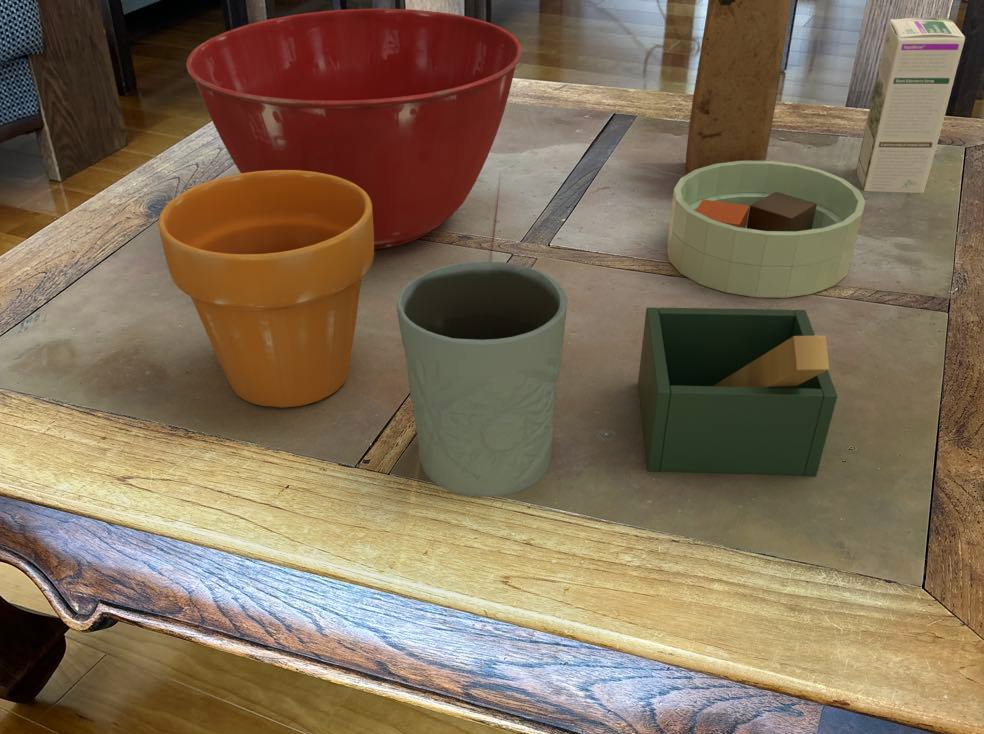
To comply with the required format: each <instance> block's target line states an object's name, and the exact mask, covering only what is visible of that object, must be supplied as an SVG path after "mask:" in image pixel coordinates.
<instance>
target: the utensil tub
mask: <svg viewBox="0 0 984 734" xmlns="http://www.w3.org/2000/svg"><path fill="white" fill-rule="evenodd" d="M643 325H644V326H643V334H642V335H643V336H642V343H641V353H640V360H639V361H640V364H639V370H638V379H637V387H638V388H637V389H638V395H639V396H638V397H639V406H640V415H641V424H642V434H643V435H642V436H643V443H644V444H643V445H644V451H645V452H644V453H645V463H646V471H647V472H648V473H674V474H675V473H676V474H677V473H678V474H710V475H711V474H712V475H744V476H779V477H808V478H809V477H812V478H815V477H817V475H818V471H819V467H820V463H821V460H822V456H823V452H824V448H825V444H826V440H827V437H828V433H829V430H830V426H831V422H832V418H833V414H834V411H835V406H836V403H837V400H838V394H837V391H836V388H835V386H834V383H833V379H832V377H831V375H830V372H829V370H827V371H825V372H823V373H821V374H819V375H817V376H815V377H813V378H811V379H809V380H807V381H805V382H803V383H801V384H800V385H798V386H796V387H794V388H760V387H716V386H714V385H716V384H717V383H719V382H721V381H722V380H724V379H725V378H727V377H729V376H730V375H732V374H734V373H735V372H737V371H738V370H740V369H742V368H743V367H745V366H746V365H748V364H750V363H751V362H753V361H754V360H756V359H758V358H759V357H761V356H763V355H764V354H766V353H767V352H769V351H771V350H772V349H774V348H775V347H777V346H779V345H780V344H782V343H784V342H785V341H787V340H788V339H790V338H792V337H793V336H816V334H815V332H814V328H813V327H812V324H811V321H810V318H809V316H808V313H807V310H806V309H777V308H776V309H773V308H771V309H769V308H715V307H714V308H713V307H712V308H707V307H646V309H645V318H644V324H643Z"/></svg>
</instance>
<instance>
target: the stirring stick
mask: <svg viewBox="0 0 984 734" xmlns="http://www.w3.org/2000/svg"><path fill="white" fill-rule="evenodd" d="M828 351H829V350H828V341H827V335H821V334H820V335H815V336H793V337H792V338H790V339H788V340H787V341H785V342H784V343H782V344H780V345H779V346H777V347H775V348H774V349H772V350H771V351H769V352H767V353H766V354H764V355H763V356H761V357H759V358H758V359H756V360H754V361H753V362H751V363H750V364H748V365H746V366H745V367H743V368H742V369H740V370H738V371H737V372H735V373H734V374H732V375H730V376H729V377H727V378H725V379H724V380H722V381H721V382H719V383H717V384H716V385H714V386H716V387H760V388H794V387H796V386H798V385H800V384H801V383H803V382H805V381H807V380H809V379H811V378H813V377H815V376H817V375H819V374H821V373H823V372H825V371H827V370H828V371H829V370H830V362H829V352H828Z"/></svg>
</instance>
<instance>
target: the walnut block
mask: <svg viewBox="0 0 984 734" xmlns="http://www.w3.org/2000/svg"><path fill="white" fill-rule="evenodd" d="M816 206H817V204H816V203H812V202H809V201H806V200H802V199H799V198H796V197H792V196H789V195H786V194H782V193H779V192H774V193H772V194H771V195H769V196H767V197H765V198H763V199H761V200H759V201H758V202H756V203H754V204H752V205H751V206H750V210H749V216H748V222H747V229H754V230H762V231H790V232H796V231H804V230H811V229H812V225H813V220H814V216H815V211H816Z"/></svg>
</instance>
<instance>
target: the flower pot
mask: <svg viewBox="0 0 984 734" xmlns="http://www.w3.org/2000/svg"><path fill="white" fill-rule="evenodd" d="M157 224H158V225H157V226H158V231H159V235H160V239H161V244H162V249H163V252H164V253H163V254H164V257H165V260H166V265H167V267H168V272H169V275H170V277H171V279H172V281H173V283H174V284H175V285H176V287H177V288H178V290H180V291H181V292H183V293H184V294H186V295H187V296H189V297H190V298H191V299H190V300H191V301H192V303H193V306H194V307H195V309H196V311H197V314H198V316H199V319H200V321H201V323H202V325H203V328H204V330H205V332H206V334H207V336H208V339H209V342H210V343H211V346H212V348H213V350H214V353H215V355H216V356H217V359H218V361H219V363H220V365H221V367H222V370H223V372H224V374H225V376H226V379H227V381H228V383H229V385H230V387H231V389H232V391H233V392H234V393H235V394H236V395H237V396H238V397H239V398H240V399H242V400H244V401H246V402H248V403H251V404H254V405H257V406H262V407H274V408H295V407H298V406H299V407H300V406H306V405H309V404H311V403H316V402H319V401H321V400H323V399H325V398H328V397H330V396H331V395H332V394H334V393H336V392H337V391H338V390H339V389H341V387H342V386H343V385H344V384H345V383H346V381H347V379H348V377H349V376H348V375H349V371H350V366H351V360H352V351H353V346H354V345H353V344H354V339H355V338H354V337H355V332H356V331H355V330H356V324H357V316H358V308H359V299H360V291H361V285H362V284H361V283H362V278H363V277H364V276H366V274H367V273H368V272H369V270H370V268H371V266H372V265H373V261H374V258H375V249H374V229H373V212H372V203H371V200H370V198H369V196H368V195H367V193H366V192H365V191H364V190H363V189H362V188H360V187H359V186H357V185H356V184H354V183H352V182H350V181H347V180H345V179H342V178H339V177H336V176H332V175H328V174H323V173H318V172H310V171H299V170H269V171H256V172H248V173H242V174H241V173H237V174H232V175H226V176H223V177H219V178H215V179H212V180H210V181H206V182H203V183H201V184H198V185H195V186H193V187H191V188H189V189H187V190H185V191H183V192H181V193H180V194H178V195H177V196H175V197H174V198H172V199H171V200H170V201H169V202H168V203H167V204H166V205H165V206H164V207H163V209H162V210H161V211H160V214H159V217H158V222H157Z"/></svg>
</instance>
